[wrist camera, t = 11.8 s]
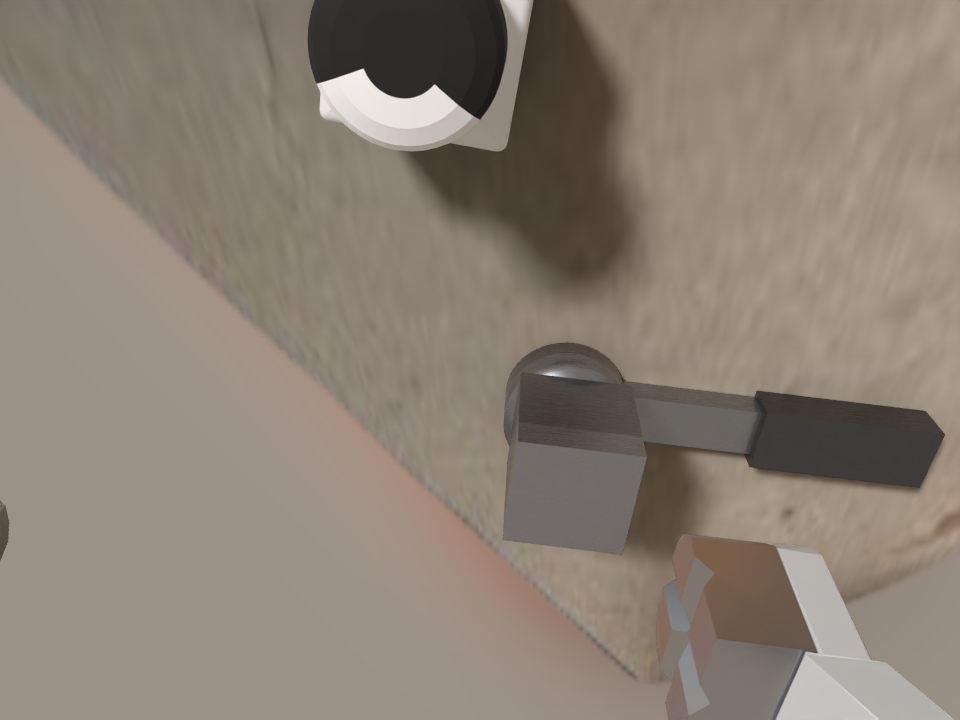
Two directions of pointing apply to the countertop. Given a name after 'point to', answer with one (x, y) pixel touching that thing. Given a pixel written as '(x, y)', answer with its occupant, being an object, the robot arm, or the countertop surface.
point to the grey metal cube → (573, 464)
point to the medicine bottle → (420, 69)
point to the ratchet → (760, 423)
